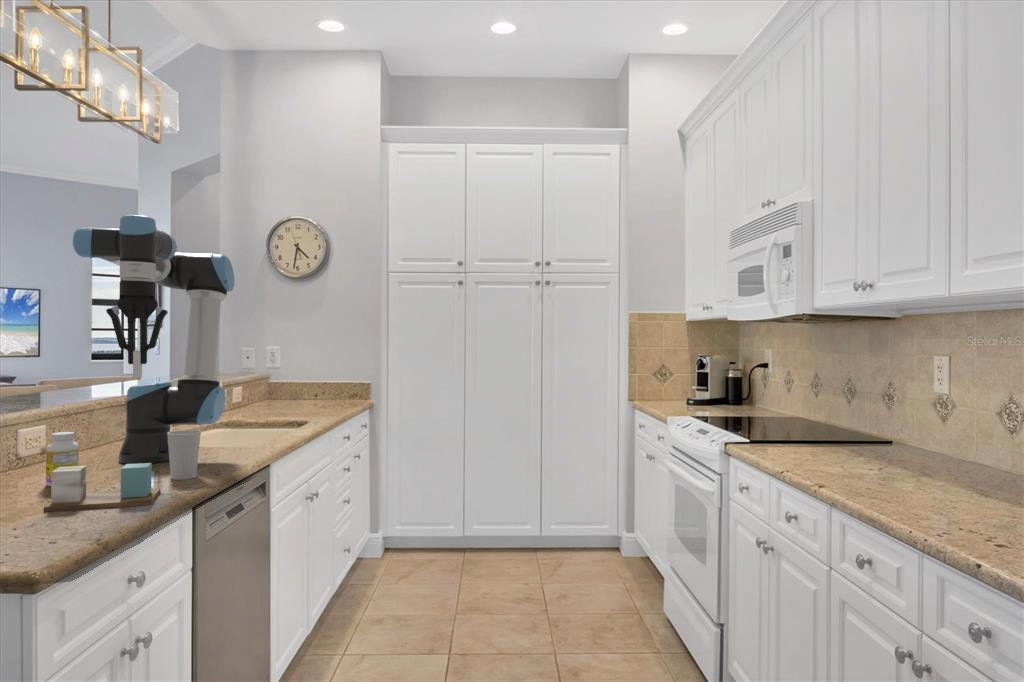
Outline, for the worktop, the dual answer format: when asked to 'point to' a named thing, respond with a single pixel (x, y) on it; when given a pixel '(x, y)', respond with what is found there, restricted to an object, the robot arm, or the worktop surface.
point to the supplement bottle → (61, 453)
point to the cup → (183, 453)
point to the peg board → (73, 496)
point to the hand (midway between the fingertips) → (137, 377)
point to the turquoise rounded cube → (136, 480)
